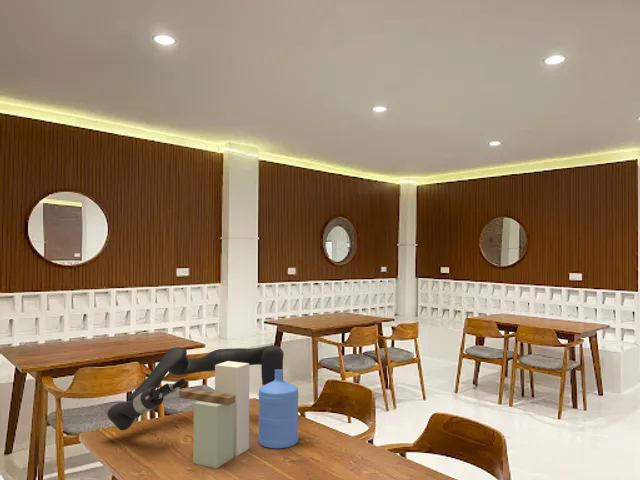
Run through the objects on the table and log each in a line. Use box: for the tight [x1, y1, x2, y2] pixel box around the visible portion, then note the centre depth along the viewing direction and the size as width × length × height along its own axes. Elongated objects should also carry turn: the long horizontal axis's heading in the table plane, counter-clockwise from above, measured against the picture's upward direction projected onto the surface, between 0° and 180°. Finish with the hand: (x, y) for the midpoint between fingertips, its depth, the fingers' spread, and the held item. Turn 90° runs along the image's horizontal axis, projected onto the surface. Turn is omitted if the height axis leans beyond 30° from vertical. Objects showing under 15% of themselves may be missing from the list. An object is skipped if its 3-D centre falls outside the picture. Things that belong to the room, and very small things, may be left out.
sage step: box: [192, 400, 234, 469], centre depth 182 cm, size 10×10×21 cm
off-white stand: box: [214, 361, 250, 457], centre depth 192 cm, size 10×8×32 cm
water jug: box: [257, 369, 299, 449], centre depth 201 cm, size 16×16×28 cm
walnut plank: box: [178, 387, 235, 405], centre depth 184 cm, size 22×4×2 cm, turn 64°
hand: (176, 383), depth 190 cm, fingers open, 8 cm apart
